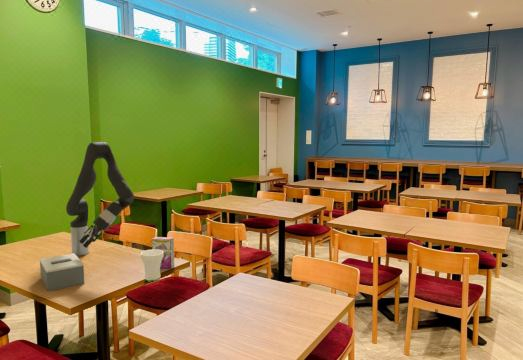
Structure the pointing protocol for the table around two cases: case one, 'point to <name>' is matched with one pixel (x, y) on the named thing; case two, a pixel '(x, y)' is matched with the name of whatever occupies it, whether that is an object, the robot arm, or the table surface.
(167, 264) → the candy bar box
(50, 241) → the table surface
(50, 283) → the coin box
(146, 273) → the cup
